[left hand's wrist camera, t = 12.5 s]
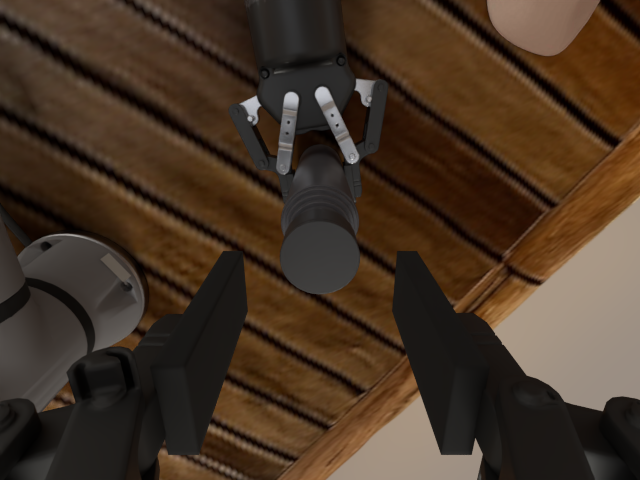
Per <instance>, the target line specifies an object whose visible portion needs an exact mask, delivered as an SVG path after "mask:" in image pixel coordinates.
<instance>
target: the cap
mask: <svg viewBox="0 0 640 480" xmlns="http://www.w3.org/2000/svg"><path fill="white" fill-rule="evenodd" d="M280 263H281V267H282V270H283V272H284V274H285V276H286V277H287V279H288V280H289V281H290V282H291V283H292V284H293V285H294V286H296V287H297V288H299V289H301V290H303V291H306V292H309V293H314V294H327V293H331V292H334V291H337V290H339V289H341V288H343V287H344V286H346V285H347V284H348V283H349V282H350V281H351V280H352V279H353V277H354V276H355V274H356V272H357V270H358V267H359V263H360V252H359V248H358V244H357V240H356V236H355V232H354V230H353V228H352V226H351V224H350V223H349V222H348V221H347V220H346V219H345V218H344V217H343V216H342V215H340V214H338V213H337V212H334V211H332V210H328V209H312V210H308V211H306V212H303V213H301V214H300V215H298V216H297V217H296V218H295V219H293V220H292V222H291V223H290V224H289V226H288V228H287V230H286V232H285V236H284V240H283V243H282V247H281V251H280Z"/></svg>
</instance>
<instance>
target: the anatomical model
mask: <svg viewBox="0 0 640 480" xmlns="http://www.w3.org/2000/svg"><path fill="white" fill-rule="evenodd" d="M599 1H600V0H487V6H488V12H489V16H490V19H491V22H492V24H493V25H494V27H495V28H496V30H497V31H498V32H499V33H500V34H501V35H502V36H503V37H504V38H505V39H507V40H508V41H509V42H511V43H513V44H514V45H516V46H518V47H520V48H522V49H524V50H527V51H529V52H532V53H535V54H539V55H544V56H552V55H556V54H558V53H560V52H561V51H563V50H564V49H565V48H566V47H567V46H568V45H569V44H570V43H571V42H572V41H573V40H574V38H575V37H576V36H577V34H578V33H579V32H580V30H581V29H582V28H583V26H584V25H585V24H586V23H587V21H588V20H589V18H590V16H591V15H592V13H593V12H594V10H595V8H596V6H597V5H598V3H599Z"/></svg>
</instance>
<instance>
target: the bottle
mask: <svg viewBox="0 0 640 480" xmlns="http://www.w3.org/2000/svg"><path fill="white" fill-rule="evenodd" d="M312 209H328V210H332V211H334V212H337V213H338V214H340V215H342V216H343V217H344V218H345V219H346V220H347V221H348V222H349V223H350V224H351V226H352V228H353V230H354V232H355V236H356V234H357V231H358V226H359V216H358V212H357V208H356V205H355V202H354V199H353V196H352V193H351V190H350V187H349V184H348V181H347V178H346V175H345V172H344V169H343V166H342V163H341V160H340V158H339V156H338V154H337V152H336V151H335V150H334V149H332V148H331V147H329V146H327V145H322V144H318V145H313V146H311V147H309V148H308V149H306V150H305V151H304V152H303V154H302V156H301V158H300V160H299V163H298V166H297V169H296V172H295V175H294V178H293V181H292V184H291V187H290V190H289V193H288V196H287V199H286V202H285V205H284V208H283V211H282V216H281V226H282V231H283V234H284V236H285V232H286V230H287V228H288V226H289V224H290V223H291V222H292V220H293V219H295V218H296V217H297V216H298V215H300V214H301V213H303V212H306V211H308V210H312Z"/></svg>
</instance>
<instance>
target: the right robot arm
mask: <svg viewBox="0 0 640 480" xmlns="http://www.w3.org/2000/svg"><path fill="white" fill-rule="evenodd" d="M244 2H245V7H246V12H247V17H248V22H249V28H250V33H251V38H252V43H253V48H254V53H255V58H256V63H257V68H258V73H259V86H258V89H257V96H255V97H253V98H251V99H248V100H246V101H244V102H242V103H240V104H232V105H231V106H230V107H229V114H230V116H231V118H232V120H233V122H234V124H235V126H236V128H237V130H238V132H239V134H240V136H241V138H242V140H243V142H244V144H245V146H246V148H247V150H248V152H249V154H250V156H251V158H252V160H253V162H254V164H255V166H256V167H257V168H258V169H259V170H269V171H273V172H275V173H276V174H277V175H278V177H279V180H280V186H281V191H282V196H283V201H284V204H285V202H286V199H287V196H288V193H289V190H290V187H291V184H292V181H293V178H294V175H295V169H294V170H292V158H293V151H294V145H295V139H296V135H299V134H304V133H306V132H309V131H311V130H319V131H324V130H330V128H331V130H332V132H333V134H334V136H335V138H336V140H337V142H338V144H339V146H340V148H341V150H342V152H343V155H344V162H342V163H343V169H344V172H345V175H346V178H347V181H348V184H349V187H350V190H351V193H352V196H353V199H354V202H355V203H356V198H355V197H361V193H362V186H361V178H360V169H359V162H360V160H361V159H362V158H363V157H364V156H366V155H368V154H370V153H375V152H376V151H377V150H378V147H379V141H380V135H381V129H382V123H383V116H384V110H385V104H386V98H387V92H388V84H387V82H386V81H385V80H376V81H371V80H363V79H356V77H355V75H354V73H353V72H352V70H351V69H350V67H349V64H348V59H347V51H346V42H345V33H344V25H343V16H342V7H341V0H244ZM354 91H357V92H358V93H359V95H360V101H361V103H362V105H364V106H367V111H366V118H365V125H364V131H363V138H362V140H361V141H359V142H357V143H355V144H354V143H353V141H352V139H351V137H350V134H349V132H348V130H347V128H346V126H345V124H344V122H343V119H342V117H341V116H342V114H343V112H344V110H345V108H346V106H347V104H348V102H349V100H350V98H351V96H352V94H353V92H354ZM261 107H263V108H264V109H265V110H266V111H267V112H268V113H269V114H270V115H271V116H272V117H273V118H274V119H275V120H276V121H277V122H278V123H279V124H280V125H281V130H280V137H279V149H278V156H275V155H270V153H269V151H268V149H267V147H266V145H265V143H264V141H263V139H262V137H261V135H260V132H259V130H258V128H257V126H256V124H258V122H259V121H260V116H259V109H260V108H261Z"/></svg>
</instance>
